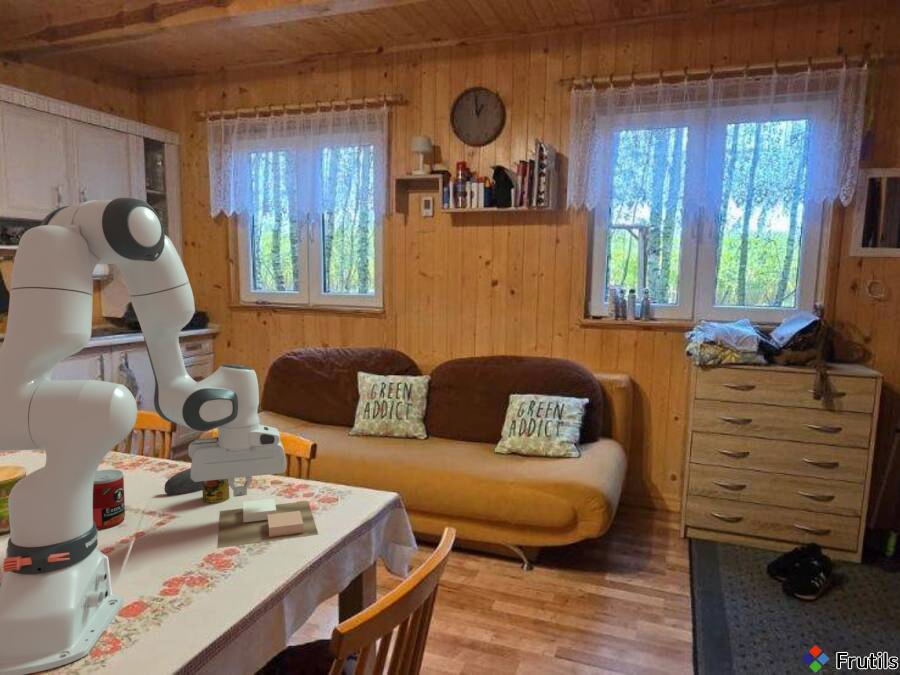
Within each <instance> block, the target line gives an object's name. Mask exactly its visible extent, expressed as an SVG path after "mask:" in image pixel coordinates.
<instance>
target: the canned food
mask: <svg viewBox="0 0 900 675" xmlns="http://www.w3.org/2000/svg"><path fill="white" fill-rule="evenodd" d="M124 478H125V477H124V472H123V471H122V470H118V469H101V470H97V472H96V475H95V478H94V484H93V521H94V522H95V523H96V528H97V530H105V529H110V528H113V527H116V526H118V525H121V524H122V523H123V522H124V521H125V518H126V509H125V508H126V507H125V505H126V504H125V479H124Z"/></svg>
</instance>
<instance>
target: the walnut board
mask: <svg viewBox="0 0 900 675" xmlns="http://www.w3.org/2000/svg"><path fill="white" fill-rule="evenodd" d="M275 506H276V514H277V513H285V512H294V511H300V513H301V517H302V520H303V533H296V534H288V535H281V536H273V537H269V531H268V523H267V520H260V521H252V522H244V523H243V507H242V508H235V509H226V510H219V522H218V532H217V534H218V535H217V549H220V548H227V547H235V546H242V545H244V546H245V545H249V544H257V543H265V542H272V541H273V542H274V541H280V540H287V539H294V538H295V539H296V538H302V537H310V536H317V535H318V536H319V532H318V528H317V525H316V522H315V519H314V516H313V512H312V509H311V505H310V502H309V500H304V501H297V502H296V501H295V502H286V503H279V504H275Z"/></svg>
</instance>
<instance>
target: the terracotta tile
mask: <svg viewBox="0 0 900 675" xmlns="http://www.w3.org/2000/svg"><path fill="white" fill-rule="evenodd" d="M267 523H268V531H269V537H273V536H281V535H288V534H296V533H303V520H302V517H301V513H300V511H294V512H285V513H277V514H269V515H267Z"/></svg>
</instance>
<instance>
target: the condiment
mask: <svg viewBox="0 0 900 675" xmlns="http://www.w3.org/2000/svg"><path fill="white" fill-rule="evenodd" d="M202 489H203V490H201V491H202V501H203V503H205V504H210V505H211V504H214V505H215V504H221V503H224V502H226V501H228V500H229V499H230V485H229V484H228V479H220V480H210V481H202Z"/></svg>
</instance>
